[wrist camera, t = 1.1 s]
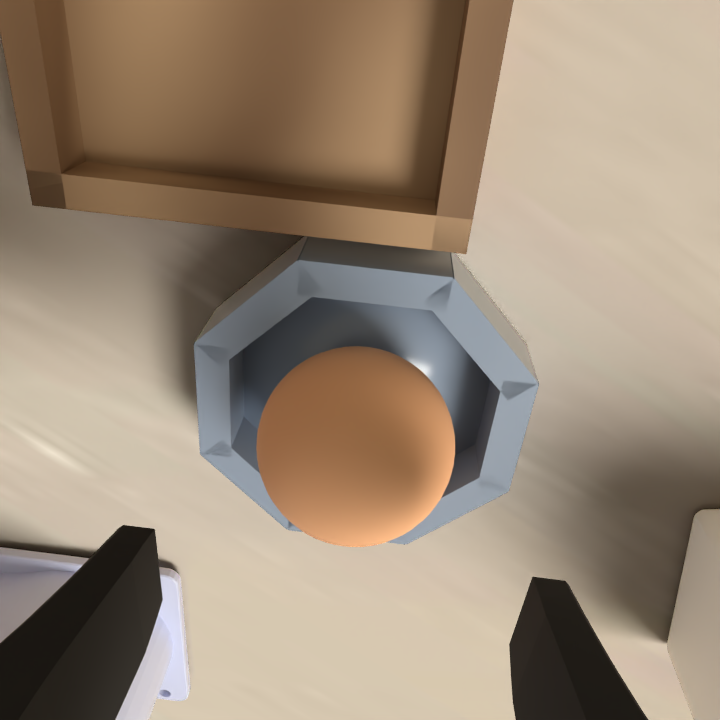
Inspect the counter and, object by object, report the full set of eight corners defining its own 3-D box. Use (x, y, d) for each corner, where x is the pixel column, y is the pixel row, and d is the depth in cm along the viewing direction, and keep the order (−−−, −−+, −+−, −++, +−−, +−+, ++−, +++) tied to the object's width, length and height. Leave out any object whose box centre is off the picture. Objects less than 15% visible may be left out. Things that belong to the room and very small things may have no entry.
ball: (275, 447, 19) (235, 577, 15) (279, 302, 17) (232, 409, 12) (436, 466, 19) (441, 603, 15) (464, 323, 17) (480, 439, 12)
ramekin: (221, 476, 21) (203, 519, 19) (212, 220, 16) (188, 247, 15) (484, 508, 21) (490, 555, 19) (549, 258, 16) (565, 290, 14)
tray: (73, 181, 16) (32, 205, 14) (12, -236, 12) (-57, -275, 10) (460, 225, 16) (466, 253, 14) (534, -186, 12) (553, -216, 10)
